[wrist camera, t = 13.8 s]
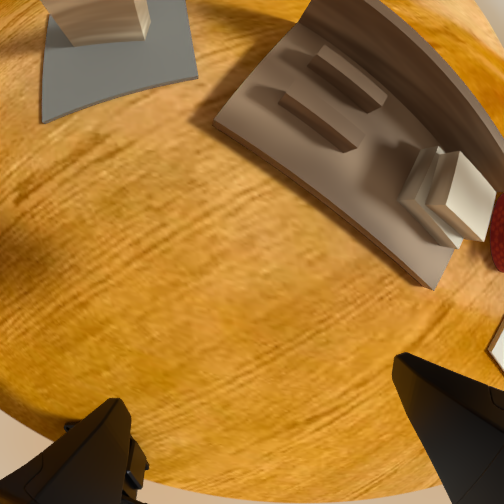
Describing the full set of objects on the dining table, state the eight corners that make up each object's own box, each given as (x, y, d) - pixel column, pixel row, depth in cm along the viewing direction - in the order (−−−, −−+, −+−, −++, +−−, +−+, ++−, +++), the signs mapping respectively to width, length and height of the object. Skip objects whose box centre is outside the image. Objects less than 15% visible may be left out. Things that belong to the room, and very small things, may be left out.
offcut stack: (441, 247, 22) (479, 254, 17) (396, 199, 20) (435, 199, 16) (463, 196, 21) (499, 197, 17) (421, 147, 20) (459, 139, 16)
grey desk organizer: (423, 286, 23) (483, 309, 16) (212, 125, 19) (220, 80, 11) (469, 183, 23) (527, 181, 16) (299, 24, 18) (334, -30, 11)
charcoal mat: (45, 124, 16) (42, 122, 16) (52, 13, 14) (50, 11, 14) (198, 78, 18) (198, 75, 18) (180, -25, 16) (180, -28, 16)
